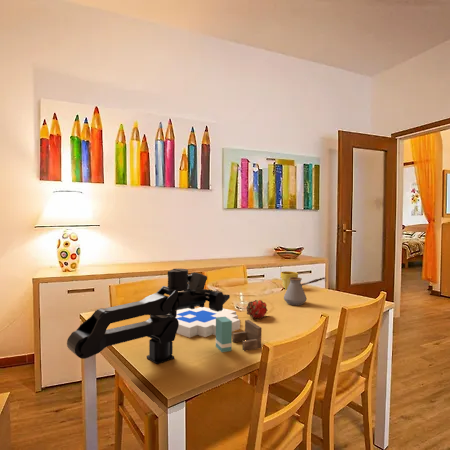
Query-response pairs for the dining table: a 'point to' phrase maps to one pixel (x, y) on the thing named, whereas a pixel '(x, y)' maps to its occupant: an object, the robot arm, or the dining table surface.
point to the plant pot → (287, 277)
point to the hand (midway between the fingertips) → (220, 293)
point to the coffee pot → (297, 291)
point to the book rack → (249, 336)
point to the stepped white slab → (203, 321)
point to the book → (223, 334)
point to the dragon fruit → (256, 309)
